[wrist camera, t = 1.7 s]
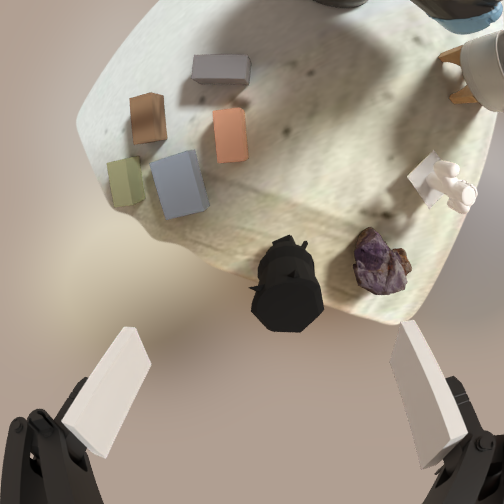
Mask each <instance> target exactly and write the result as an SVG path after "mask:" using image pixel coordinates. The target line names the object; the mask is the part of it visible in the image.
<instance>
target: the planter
mask: <svg viewBox="0 0 504 504" xmlns="http://www.w3.org/2000/svg"><path fill="white" fill-rule="evenodd" d="M438 58H439V59H440V60H441V61H442V62H451V63H454V64H457V65H459V66H461V69H462V73H463V76H464V79H465V81H466V84H467V85H466V86H465V87H464V88H463V89H462V90H460V91H458V92H456V93H454V94H451V96H450V97H449V99H450V100H451V101H452V102H453V104H462V103H478V102H479V103H480V104H481V105H482V106H483V107H485V108H486V109H488V110H490V111H493V112H504V30H500V31H497V32H494V33H491V34H488V35H485V36H482V37H479V38H476V39H473V40H470V41H468V42H466V43H465V44H464V45H461V46H458V47H456V48H453V49H451V50H448V51H446V52H443V53H441V54H440V56H439V57H438Z"/></svg>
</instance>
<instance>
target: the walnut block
mask: <svg viewBox="0 0 504 504" xmlns="http://www.w3.org/2000/svg"><path fill="white" fill-rule="evenodd" d="M129 99H130V113H131V124H132V134H133V143H134V145H136V144H144V143H150V142H155V141H160V140H166V139H167V131H166V120H165V109H164V96H163V95H159V94H155V93H152V92H151V93H147V94H143V95H140V96H136V97H133V98H129Z"/></svg>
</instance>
